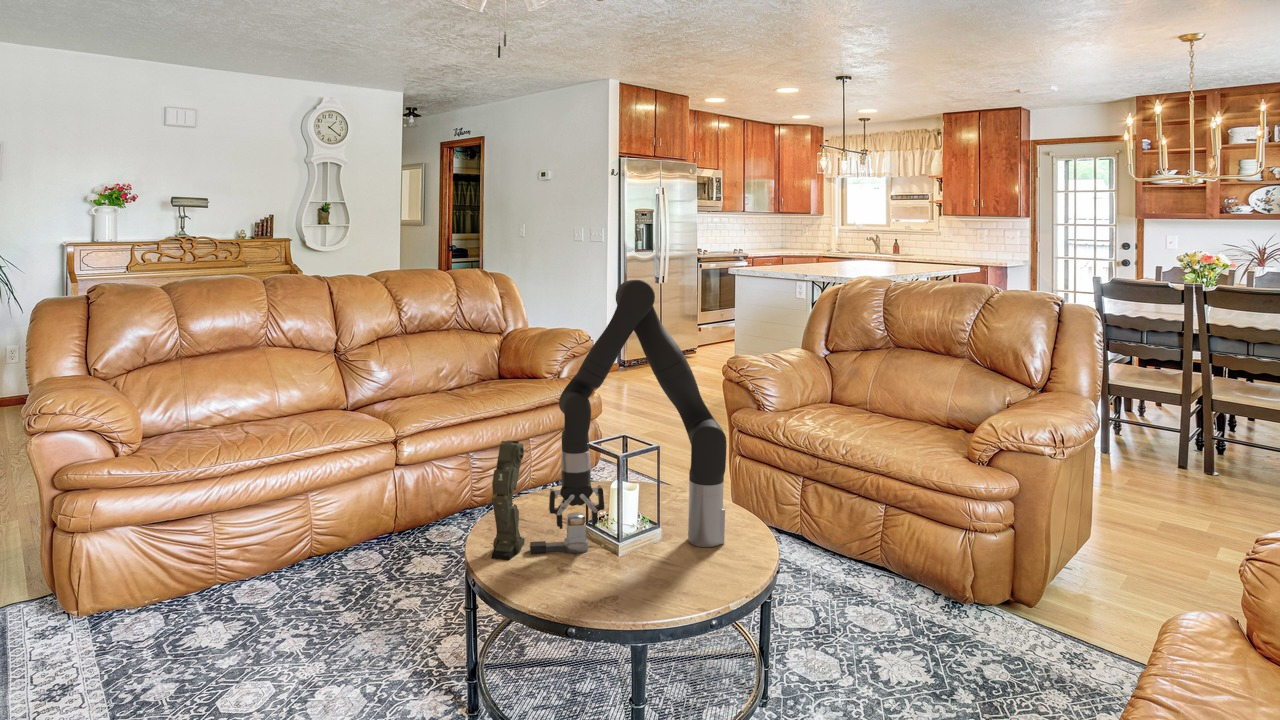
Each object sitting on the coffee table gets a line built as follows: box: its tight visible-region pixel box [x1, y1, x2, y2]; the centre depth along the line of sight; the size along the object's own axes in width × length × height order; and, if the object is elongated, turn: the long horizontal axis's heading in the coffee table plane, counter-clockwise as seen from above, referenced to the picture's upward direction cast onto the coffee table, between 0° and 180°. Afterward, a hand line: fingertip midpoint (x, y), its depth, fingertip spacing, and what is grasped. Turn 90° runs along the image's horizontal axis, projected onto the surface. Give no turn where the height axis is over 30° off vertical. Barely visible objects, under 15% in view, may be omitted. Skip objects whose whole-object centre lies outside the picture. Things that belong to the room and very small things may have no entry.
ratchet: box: [529, 536, 589, 555], centre depth 198 cm, size 15×6×6 cm, turn 100°
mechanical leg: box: [490, 440, 525, 561], centre depth 196 cm, size 14×7×30 cm, turn 169°
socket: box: [566, 511, 587, 544], centre depth 198 cm, size 5×5×7 cm
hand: (577, 526), depth 198 cm, fingers open, 8 cm apart
